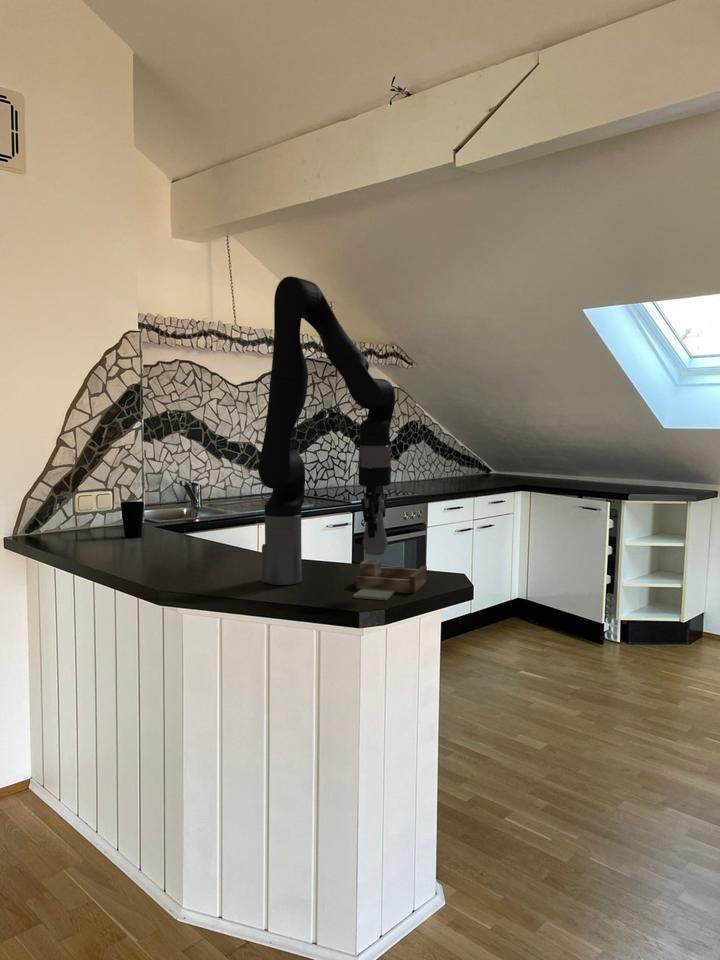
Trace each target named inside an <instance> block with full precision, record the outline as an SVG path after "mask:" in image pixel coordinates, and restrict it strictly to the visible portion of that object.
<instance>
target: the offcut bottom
mask: <svg viewBox="0 0 720 960" xmlns="http://www.w3.org/2000/svg"><path fill="white" fill-rule="evenodd" d="M357 576H360V572H359V573H357V575H355V578H356V577H357ZM369 577H382V578H384V571H381V572H380V573H379V574H377V575H376V576H369Z"/></svg>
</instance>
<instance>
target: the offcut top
mask: <svg viewBox="0 0 720 960" xmlns="http://www.w3.org/2000/svg"><path fill="white" fill-rule="evenodd" d="M381 565H382V560H381V559H372V558H371V559H367V558H365V559H364V560H363V561H361V562H359V573H360V576H376V575H377V574H379V573H380V572H381V567H382V566H381Z"/></svg>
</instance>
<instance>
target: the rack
mask: <svg viewBox="0 0 720 960" xmlns="http://www.w3.org/2000/svg"><path fill="white" fill-rule="evenodd" d="M381 571H384V578H382V577H369V576H357V577H356V576H355V589H356V590H361V589H362V588H363V587H365V588H378V589H391V590H395V593H405V594H415V593H416V592H417V591H419V590H420V589H421V588H422V587H423V585H424V584H425V583H426V582H427V581H428V579H427V578H428V577H427V575H428V573H427V571H428V570H427V565H421V566H420V567H419V568H418V569H417V568H409V567H408V568H406V567H405V568H404V567H394V566H393V567H392V566H381Z"/></svg>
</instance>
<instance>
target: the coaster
mask: <svg viewBox="0 0 720 960" xmlns="http://www.w3.org/2000/svg"><path fill="white" fill-rule="evenodd" d="M394 594H396V592H395V590H391V589H378V588H365V587H363V588H362V589H358V591H357V592H355V593H354V594H353V595H352V598H355V599H366V600H379V601H387V600H388V599H390V598H391V597H392V596H393V595H394Z"/></svg>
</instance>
